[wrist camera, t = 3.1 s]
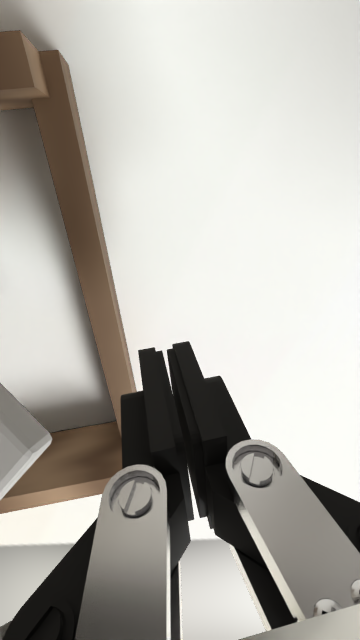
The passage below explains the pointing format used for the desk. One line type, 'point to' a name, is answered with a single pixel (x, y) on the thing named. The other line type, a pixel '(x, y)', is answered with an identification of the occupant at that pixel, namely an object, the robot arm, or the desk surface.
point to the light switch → (18, 440)
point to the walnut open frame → (92, 267)
